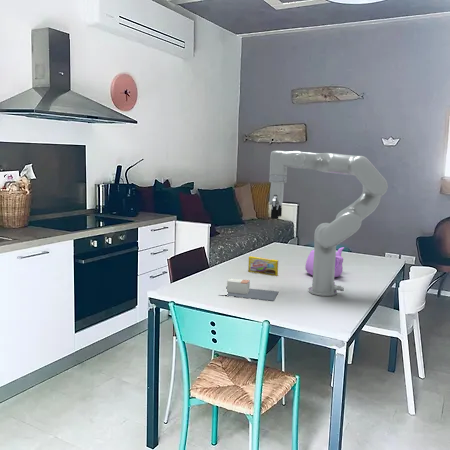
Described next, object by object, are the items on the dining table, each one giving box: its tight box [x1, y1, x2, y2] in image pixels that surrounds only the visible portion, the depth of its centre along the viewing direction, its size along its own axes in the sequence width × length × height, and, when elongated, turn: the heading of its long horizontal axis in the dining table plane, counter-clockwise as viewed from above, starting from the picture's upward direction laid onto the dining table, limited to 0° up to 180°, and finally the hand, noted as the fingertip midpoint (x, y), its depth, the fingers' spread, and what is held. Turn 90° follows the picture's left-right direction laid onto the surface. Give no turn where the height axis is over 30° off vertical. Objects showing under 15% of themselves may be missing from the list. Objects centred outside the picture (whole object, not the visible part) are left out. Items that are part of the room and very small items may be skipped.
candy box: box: [247, 255, 279, 277], centre depth 240 cm, size 16×2×8 cm, turn 62°
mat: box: [225, 285, 279, 302], centre depth 203 cm, size 24×14×1 cm, turn 75°
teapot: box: [304, 247, 345, 278], centre depth 240 cm, size 23×21×15 cm
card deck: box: [226, 278, 251, 294], centre depth 204 cm, size 5×9×5 cm, turn 75°
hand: (276, 217), depth 206 cm, fingers open, 9 cm apart
